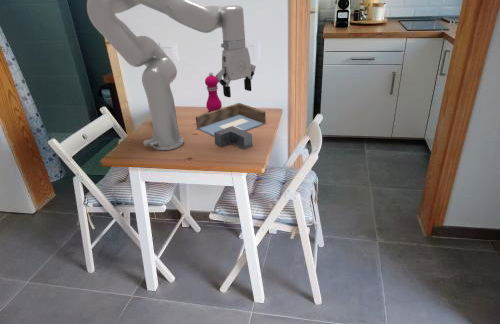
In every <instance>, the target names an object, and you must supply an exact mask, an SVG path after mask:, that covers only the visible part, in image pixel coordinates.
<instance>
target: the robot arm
mask: <svg viewBox="0 0 500 324" xmlns="http://www.w3.org/2000/svg"><path fill="white" fill-rule="evenodd" d="M86 1H87V2H86V11H87V16H88V18H89V20H90V22H91V24H92V25H93V27H94V28H95V29H96V30H97V31H98V32H99V34H101V35H102V36H103V38H104V39H106V40H107V42H108V43H109V44H110V45H111V46H112V47H113V48H114V49H115V50H116V51H117V53H118V54H119V55H120V57H122V58H123V59H124V61H126V62H127V64H128V65H130V66H131V67H134V68H139V67H143V66H145V69H144V71H143V72H142V75H141V83H142V86H143V89H144V92H145V95H146V99H147V100H146V101H147V104H148V108H149V113H150V120H151V125H152V130H153V134H152V135H151V138H150V139H146V140H143V141H142V142H143V145H144V146H145V147H146V146H150V147H152V148H153V149H154V150H157V151H171V150H175V149H178V148H180V147H182V146H183V145H184V143H185V139H184V137H182V136H180V129H179V126H178V125H179V124H178V117H177V112H176V104H175V100H174V94H173V92H172V89H171V84H172V83H173V82H174V81H175V79H176V77H177V75H178V70H177V67H176V65H175V63H174V61H173V60H172V59H171V58H170V57H169V56H168V55H167V53H166V52H165V51H164V50H163V49H162V48H161V47H160V45H159V44H158V43H157V42H156V41H155V40H154V39H152V38H151V37H149V36H146V35H139V36H137V35H136V34H135V33H134V32H133V31H132V30H131V29H130V28H129V26H128V25H127V24H126V23H124V21H122V20H121V19H119V18H118V17H117V15H116V14H120V13H123V12H126V11H129V10H131V9H133V8H134V7H136V6H139V5H143V6H145V7H148V8H150V9H152V10H155V11H156V12H159V13H161V14H164V15H166V16H167V17H169V18H170V19H172V20H174V21H176V22H177V23H179V24H181V25H183V26H185V27H186V28H190V29H192V30H195V31H196V32H200V33H204V34H208V33H212V32H214V31H215V30H217V29H220V28H221V32H222V34H221V35H222V43H221V44H220V47H221V48H222V53H221V54H222V55H221V70H219V71H218V72H217V74H215V76H216V78H217V80H218V84H220V85H221V86H222V90H223V91H222V92H223V96H224V97H226V98H231V96H232V95H231V86H230V84H231V81H238V80H241V79H243V83H244V84H243V85H244V90H245V91H248V92H252V80H253V76H254V75H255V70H256V68H257V67H256V65H255V64H251V57H250V52H249V49H248V47H247V46H246V34H245V33H246V31H245V16H244V15H245V14H244V8H243V7H242V6H241V5H237V4H235V5H224V6H219V5H207V6H201V5H199V4H197V3H194V2H192V1H190V0H86Z"/></svg>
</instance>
